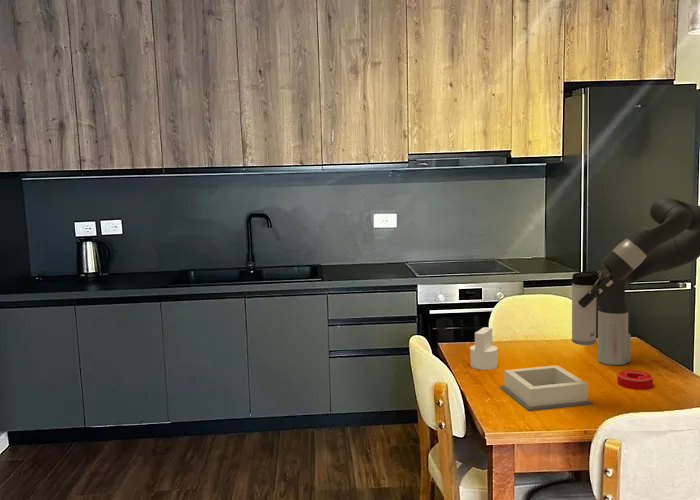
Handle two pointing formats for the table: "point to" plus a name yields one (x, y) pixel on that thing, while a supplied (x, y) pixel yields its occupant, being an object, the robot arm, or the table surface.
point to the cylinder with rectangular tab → (484, 351)
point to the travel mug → (583, 309)
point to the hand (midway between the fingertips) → (578, 302)
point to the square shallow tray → (545, 388)
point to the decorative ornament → (635, 379)
